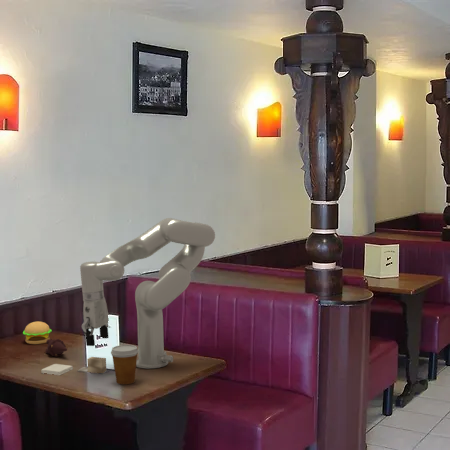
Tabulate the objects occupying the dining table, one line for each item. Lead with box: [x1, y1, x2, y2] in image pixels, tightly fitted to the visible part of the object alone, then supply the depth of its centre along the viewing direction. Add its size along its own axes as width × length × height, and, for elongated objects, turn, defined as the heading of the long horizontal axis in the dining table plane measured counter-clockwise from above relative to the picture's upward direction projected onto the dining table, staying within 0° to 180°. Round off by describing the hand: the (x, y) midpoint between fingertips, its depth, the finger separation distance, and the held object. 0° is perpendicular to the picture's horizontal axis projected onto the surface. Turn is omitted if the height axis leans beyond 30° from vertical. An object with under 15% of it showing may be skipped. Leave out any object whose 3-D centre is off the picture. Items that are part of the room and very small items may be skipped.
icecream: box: [44, 338, 68, 358], centre depth 283 cm, size 7×7×15 cm
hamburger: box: [22, 320, 52, 345], centre depth 307 cm, size 12×12×9 cm
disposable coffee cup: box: [110, 344, 138, 385], centre depth 248 cm, size 10×10×12 cm
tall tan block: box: [77, 356, 107, 374], centre depth 261 cm, size 10×4×5 cm, turn 70°
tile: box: [40, 363, 74, 376], centre depth 262 cm, size 2×8×8 cm
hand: (97, 341), depth 260 cm, fingers open, 9 cm apart
